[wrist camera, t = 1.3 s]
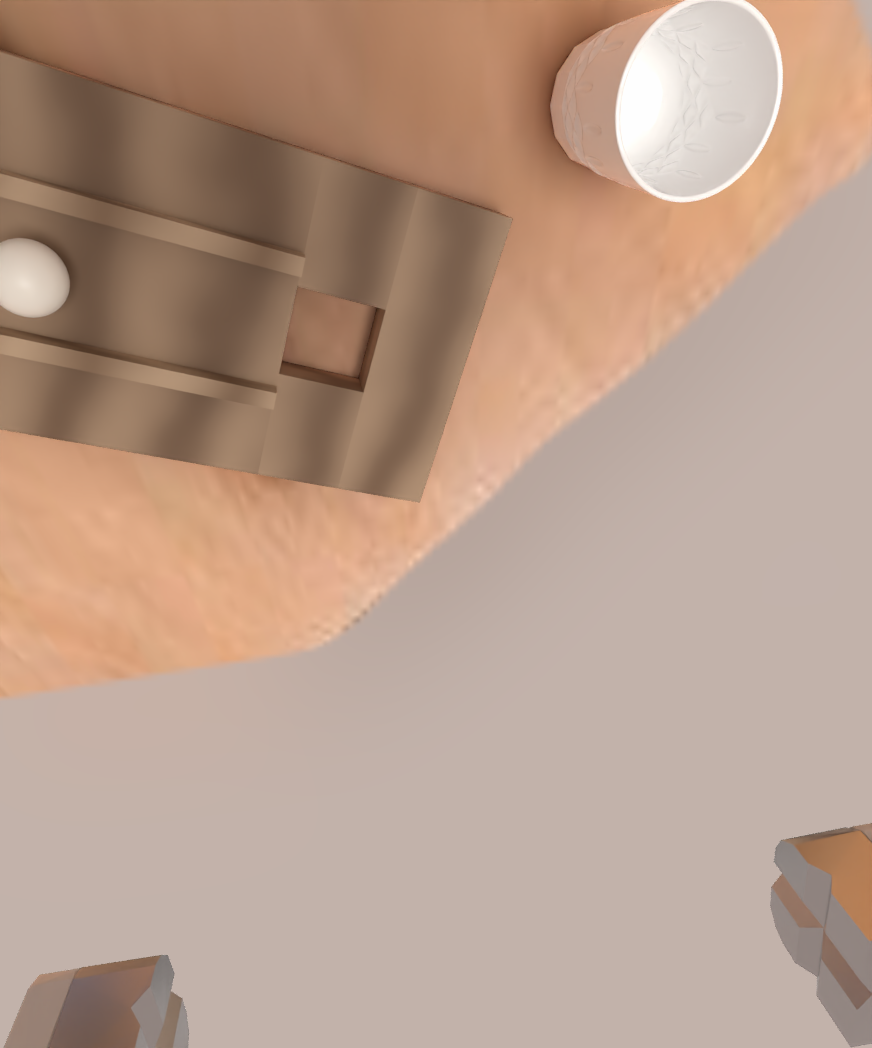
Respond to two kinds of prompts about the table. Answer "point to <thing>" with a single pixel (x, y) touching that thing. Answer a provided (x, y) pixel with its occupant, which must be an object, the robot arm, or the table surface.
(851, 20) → the table surface
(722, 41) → the white cup
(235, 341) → the board
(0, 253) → the ball
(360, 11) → the table surface
